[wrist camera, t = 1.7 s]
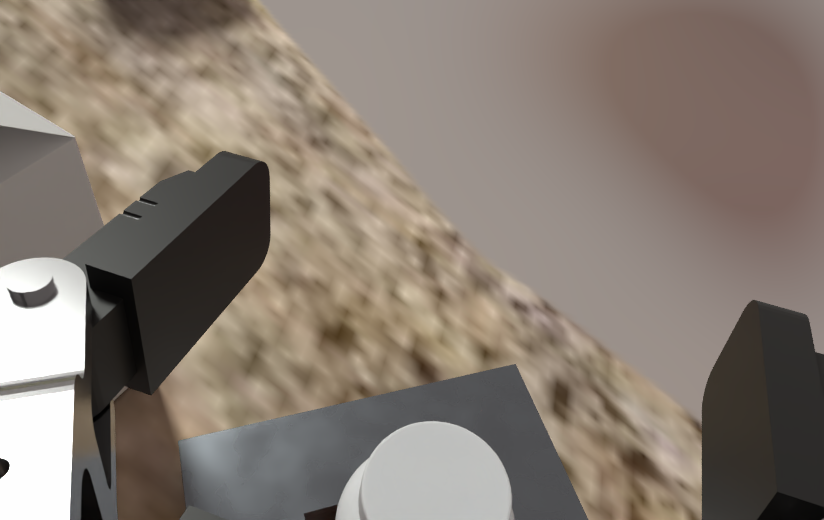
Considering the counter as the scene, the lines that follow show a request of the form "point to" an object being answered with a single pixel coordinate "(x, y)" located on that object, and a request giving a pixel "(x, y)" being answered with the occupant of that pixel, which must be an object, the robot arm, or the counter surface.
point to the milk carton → (41, 189)
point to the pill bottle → (429, 478)
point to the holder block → (357, 439)
